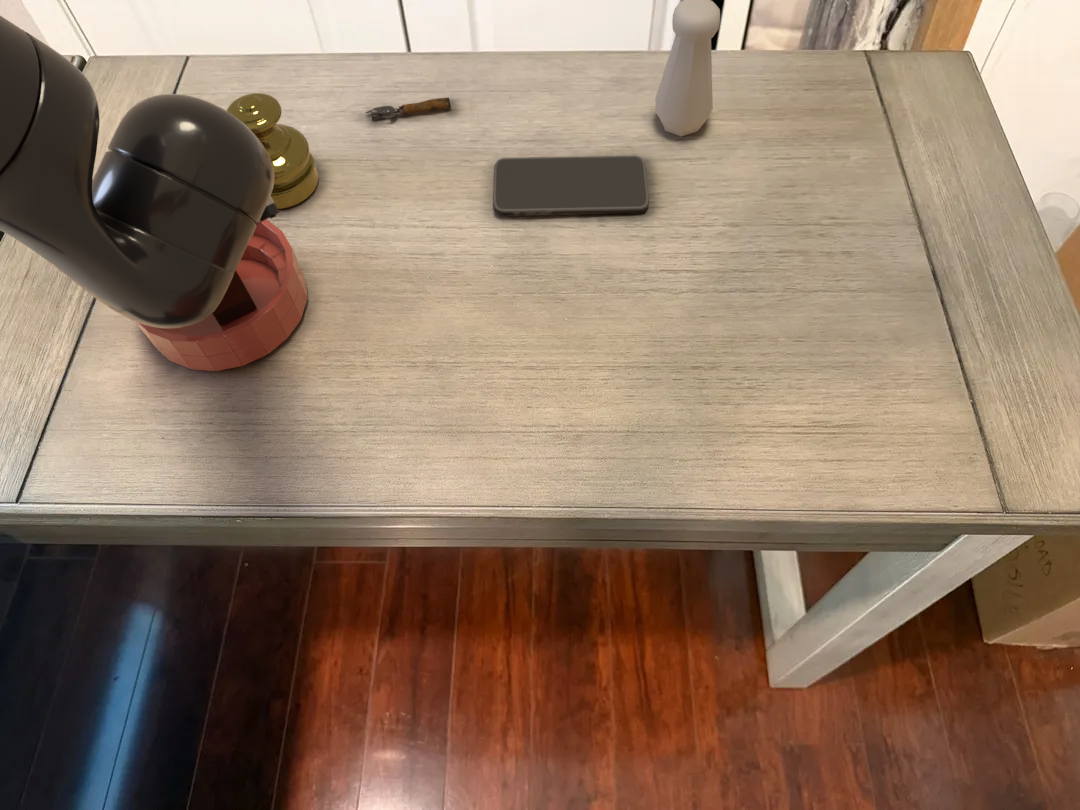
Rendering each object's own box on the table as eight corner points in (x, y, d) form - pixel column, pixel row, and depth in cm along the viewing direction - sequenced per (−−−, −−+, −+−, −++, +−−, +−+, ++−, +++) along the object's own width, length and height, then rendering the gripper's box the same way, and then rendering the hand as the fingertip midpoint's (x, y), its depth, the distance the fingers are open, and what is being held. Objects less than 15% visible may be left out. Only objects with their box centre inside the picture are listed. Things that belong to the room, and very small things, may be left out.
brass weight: (306, 215, 79) (274, 134, 71) (234, 207, 80) (194, 126, 71) (329, 161, 83) (301, 78, 74) (259, 154, 84) (224, 71, 75)
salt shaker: (719, 133, 83) (742, 17, 72) (668, 148, 82) (684, 33, 71) (692, 97, 86) (711, -20, 75) (643, 112, 85) (655, -4, 74)
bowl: (252, 396, 69) (231, 363, 65) (118, 343, 72) (89, 309, 68) (337, 274, 75) (323, 237, 71) (211, 230, 79) (190, 193, 74)
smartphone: (650, 209, 77) (492, 211, 77) (649, 215, 78) (493, 218, 78) (644, 153, 81) (493, 156, 81) (643, 160, 82) (494, 163, 82)
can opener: (451, 103, 86) (449, 94, 85) (451, 118, 85) (450, 109, 84) (366, 110, 86) (363, 101, 85) (365, 125, 85) (363, 116, 84)
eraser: (257, 308, 73) (214, 231, 64) (220, 326, 72) (172, 250, 63) (235, 272, 75) (191, 193, 66) (199, 289, 74) (150, 211, 65)
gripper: (256, 131, 54) (247, 163, 70) (45, 224, 50) (86, 235, 66) (312, 235, 56) (291, 244, 72) (114, 331, 53) (138, 318, 68)
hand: (193, 240), depth 69 cm, fingers closed on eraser, 3 cm apart
